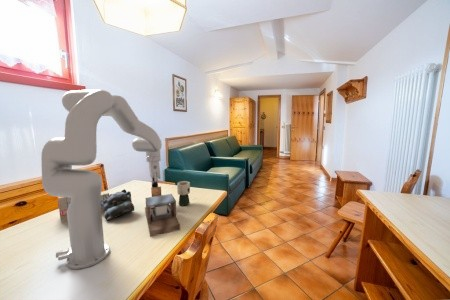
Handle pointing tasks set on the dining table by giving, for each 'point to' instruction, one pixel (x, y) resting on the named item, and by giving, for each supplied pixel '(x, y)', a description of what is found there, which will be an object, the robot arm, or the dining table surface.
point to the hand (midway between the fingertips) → (155, 189)
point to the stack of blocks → (65, 202)
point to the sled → (155, 192)
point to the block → (161, 209)
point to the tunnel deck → (164, 224)
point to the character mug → (183, 192)
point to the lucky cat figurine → (118, 204)
